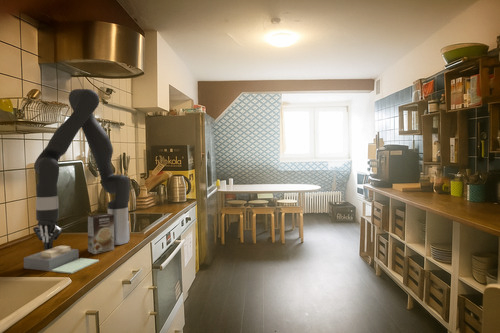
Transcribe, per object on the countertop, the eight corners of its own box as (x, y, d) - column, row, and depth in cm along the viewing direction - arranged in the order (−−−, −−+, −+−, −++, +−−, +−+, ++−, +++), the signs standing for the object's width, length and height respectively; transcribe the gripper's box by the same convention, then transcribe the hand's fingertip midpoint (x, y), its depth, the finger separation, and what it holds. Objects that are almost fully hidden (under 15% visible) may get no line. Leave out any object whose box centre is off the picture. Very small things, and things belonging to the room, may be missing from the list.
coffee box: (94, 254, 136) (93, 217, 136) (87, 251, 141) (86, 215, 140) (114, 249, 144) (114, 214, 143) (107, 247, 148) (107, 212, 147)
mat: (80, 259, 130) (80, 258, 130) (99, 261, 128) (99, 259, 128) (51, 271, 117) (51, 269, 117) (71, 273, 115) (71, 272, 115)
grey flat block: (55, 256, 134) (55, 247, 134) (78, 259, 131) (78, 249, 131) (23, 268, 120) (23, 257, 120) (49, 271, 117) (49, 260, 117)
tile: (60, 250, 130) (60, 245, 130) (70, 251, 128) (70, 246, 128) (40, 257, 121) (40, 251, 121) (51, 258, 120) (51, 252, 120)
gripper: (68, 207, 127) (69, 249, 128) (42, 205, 131) (43, 247, 131) (52, 210, 120) (53, 255, 120) (25, 208, 123) (26, 252, 124)
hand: (48, 251), depth 126 cm, fingers closed
